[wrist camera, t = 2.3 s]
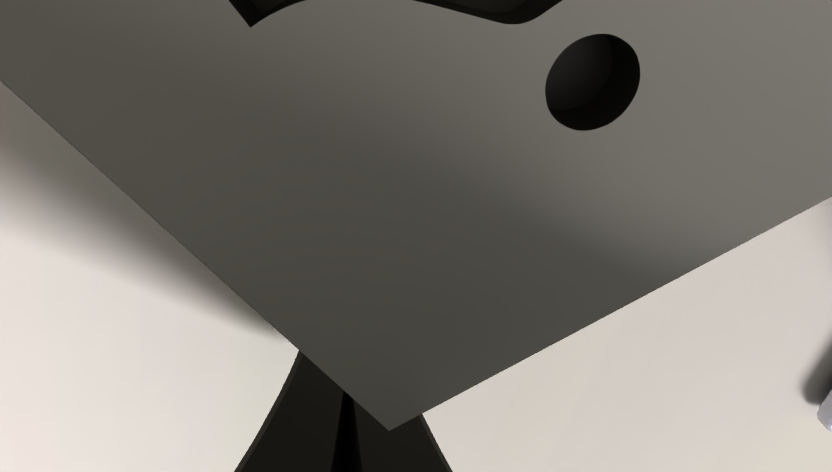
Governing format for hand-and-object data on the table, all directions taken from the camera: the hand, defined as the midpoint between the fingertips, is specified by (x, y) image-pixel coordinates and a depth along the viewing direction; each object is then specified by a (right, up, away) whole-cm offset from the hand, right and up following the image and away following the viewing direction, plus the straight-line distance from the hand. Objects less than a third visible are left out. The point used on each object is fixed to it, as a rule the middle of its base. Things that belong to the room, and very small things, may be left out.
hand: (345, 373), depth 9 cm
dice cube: (+1, +6, -2) cm, 7 cm away
